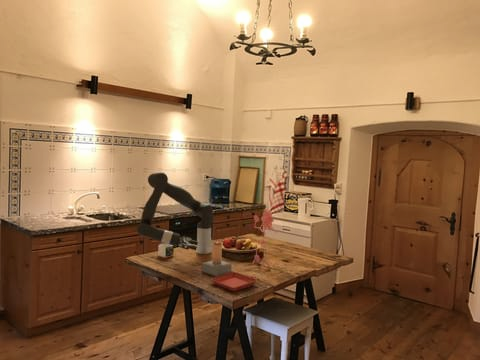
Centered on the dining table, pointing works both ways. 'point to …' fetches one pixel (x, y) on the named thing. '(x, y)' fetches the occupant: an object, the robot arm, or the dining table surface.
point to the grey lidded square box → (216, 268)
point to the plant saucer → (233, 281)
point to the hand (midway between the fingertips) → (197, 246)
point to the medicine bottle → (165, 250)
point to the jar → (217, 253)
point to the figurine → (267, 222)
